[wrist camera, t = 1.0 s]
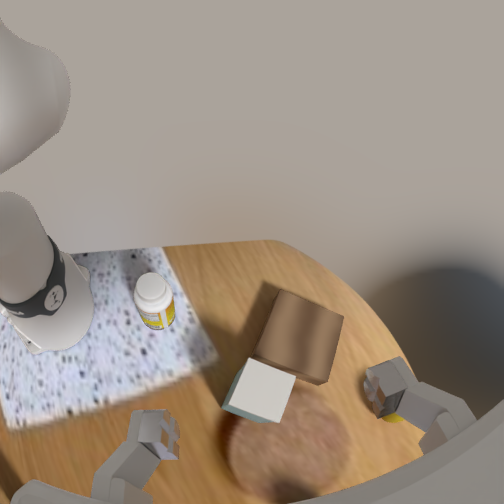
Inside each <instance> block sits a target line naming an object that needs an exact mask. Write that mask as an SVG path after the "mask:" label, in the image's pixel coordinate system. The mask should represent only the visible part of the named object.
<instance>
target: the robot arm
mask: <svg viewBox="0 0 504 504" xmlns="http://www.w3.org/2000/svg"><path fill="white" fill-rule="evenodd" d="M69 101H70V82H69V77H68V73H67V71H66V68H65V66H64V64H63V63H62V61H61V60H60V59H59V58H58V56H56V55H55V54H54V53H53V52H51V51H50V50H48V49H46V48H44V47H40V46H37V45H34V44H31V43H28V42H26V41H24V40H23V39H20V38H19V37H18V36H16V35H15V34H13V33H12V32H11V31H10V30H9V29H8V28H7V27H6V26H5V25H4V23H3V22H2V20H1V18H0V175H1V174H2V173H4V172H5V171H7V170H8V169H10V168H11V167H13V166H15V165H16V164H18V163H19V162H21V161H23V160H24V159H25V158H27V157H28V156H29V155H30V154H31V153H32V152H33V151H35V150H36V149H37V148H39V147H40V146H41V145H43V144H44V143H45V142H46V141H48V140H49V139H50V138H51V137H53V136H54V135H55V134H57V133H58V132H59V130H60V128H61V126H62V125H63V122H64V120H65V117H66V114H67V111H68V107H69ZM89 283H90V272H89V271H88V269H87V268H86V267H83V266H80V265H78V264H76V263H75V262H74V260H73V259H72V257H71V256H70V254H68V253H66V254H65V253H64V252H61V251H59V249H58V247H57V245H56V244H55V243H54V242H53V241H52V239H51V238H50V237H49V236H48V235H47V234H46V232H45V230H44V229H43V226H42V225H41V223H40V220H39V219H38V216H37V214H36V212H35V210H34V208H33V206H32V205H31V203H30V202H29V201H27V200H26V199H25V198H23V197H22V196H20V195H18V194H15V193H13V192H0V312H1V313H2V314H3V315H4V316H5V317H8V318H7V320H8V322H9V323H10V324H11V325H13V327H14V329H15V331H16V332H17V334H18V335H19V337H20V339H21V340H22V342H23V343H24V345H25V346H26V348H27V349H28V351H29V352H30V353H31V354H33V355H37V354H40V353H42V352H44V351H49V350H51V351H60V350H65V349H68V348H70V347H72V346H74V345H75V344H77V343H78V342H79V341H80V340H81V339H82V338H83V337H84V335H85V334H86V333H87V331H88V329H89V327H90V325H91V322H92V319H93V314H94V301H93V297H92V294H91V291H90V287H89ZM30 341H31V343H30V344H29V342H30ZM366 375H367V378H366V379H365V380H364V391H365V394H366V396H367V399H368V400H370V401H372V402H373V405H372V409H373V411H374V413H375V415H376V417H377V419H379V418H382V417H384V416H387V415H390V414H392V413H394V412H395V413H396V414H397V415H399V416H400V417H402V418H404V419H405V420H407V421H408V422H410V423H411V424H413V425H415V426H416V427H418V428H420V429H421V430H423V431H424V432H426V433H425V434H424V436H423V437H422V438H421V440H420V441H419V443H418V444H419V446H420V448H421V450H422V452H423V454H424V455H423V456H421V457H419V458H418V459H416V460H414V461H412V462H410V463H408V464H406V465H404V466H402V467H399V468H397V469H395V470H393V471H391V472H389V473H386V474H384V475H382V476H379V477H377V478H374V479H372V480H369V481H367V482H364V483H361V484H358V485H356V486H353V487H350V488H347V489H344V490H341V491H337V492H334V493H331V494H327V495H324V496H320V497H316V498H312V499H308V500H304V501H299V502H294V503H289V504H504V399H503V400H502V401H501V402H500V403H499V404H498V405H496V406H495V407H494V408H493V409H492V410H491V411H489V412H488V413H487V414H485V415H484V416H483V417H482V418H480V419H479V420H478V421H477V420H476V418H475V417H474V415H473V413H472V412H471V411H470V409H469V407H468V406H467V405H466V403H465V402H464V400H463V399H461V398H458V397H456V396H453V395H451V394H449V393H446V392H444V391H442V390H439V389H437V388H435V387H433V386H430V385H428V384H426V383H424V382H420V383H419V382H418V381H417V379H416V378H415V376H414V375H413V373H412V372H411V370H410V369H409V367H408V366H407V364H406V363H405V361H404V360H403V359H402V358H401V357H400V356H399V357H396V358H393V359H391V360H388V361H385V362H383V363H380V364H378V365H375V366H373V367H370V368H368V369H367V370H366ZM170 415H171V413H170V412H169V411H168V410H167V409H164V410H134V411H133V412H132V414H131V419H130V424H129V430H128V435H127V441H126V442H123V443H122V444H121V445H120V446H119V447H118V448H117V450H116V451H115V452H114V453H113V454H112V455H111V456H110V457H109V458H108V459H107V460H106V462H105V463H104V464H103V465H102V466H101V467H100V468H99V469H98V470H97V471H96V472H95V473H94V479H93V485H92V492H91V498H89V497H85V496H81V495H78V494H75V493H71V492H68V491H65V490H62V489H59V488H56V487H54V486H51V485H48V484H46V483H43V482H40V481H38V480H30V481H29V482H27V483H26V484H25V485H23V486H22V487H21V488H20V489H19V490H17V491H16V492H15V494H14V495H13V497H12V500H11V503H10V504H153V497H152V496H151V495H150V494H148V493H147V492H145V491H143V490H142V489H143V487H144V486H145V484H146V483H147V481H148V480H149V478H150V477H151V475H152V474H153V472H154V471H155V469H156V468H157V466H158V465H159V463H160V461H161V460H164V459H179V445H178V444H177V443H176V442H177V440H178V439H179V438H180V430H179V425H178V423H177V421H176V420H175V418H172V417H170Z"/></svg>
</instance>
